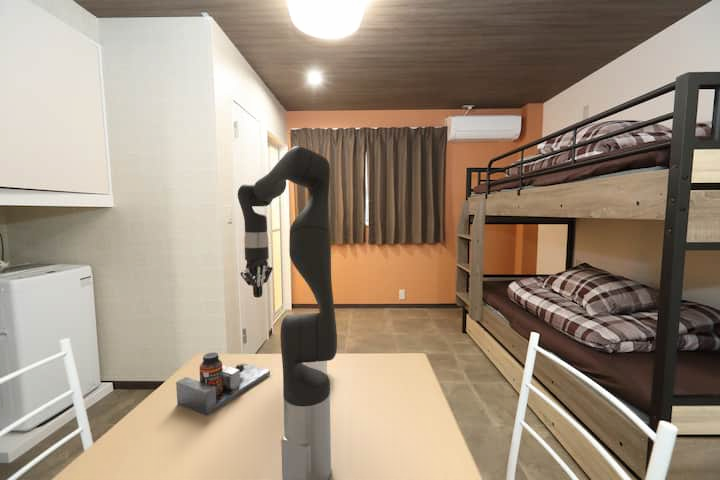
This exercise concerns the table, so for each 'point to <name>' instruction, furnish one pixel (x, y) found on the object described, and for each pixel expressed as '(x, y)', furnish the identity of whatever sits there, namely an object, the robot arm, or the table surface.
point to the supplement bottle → (212, 371)
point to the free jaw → (232, 376)
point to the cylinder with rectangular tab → (318, 365)
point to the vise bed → (204, 394)
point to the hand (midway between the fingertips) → (258, 296)
